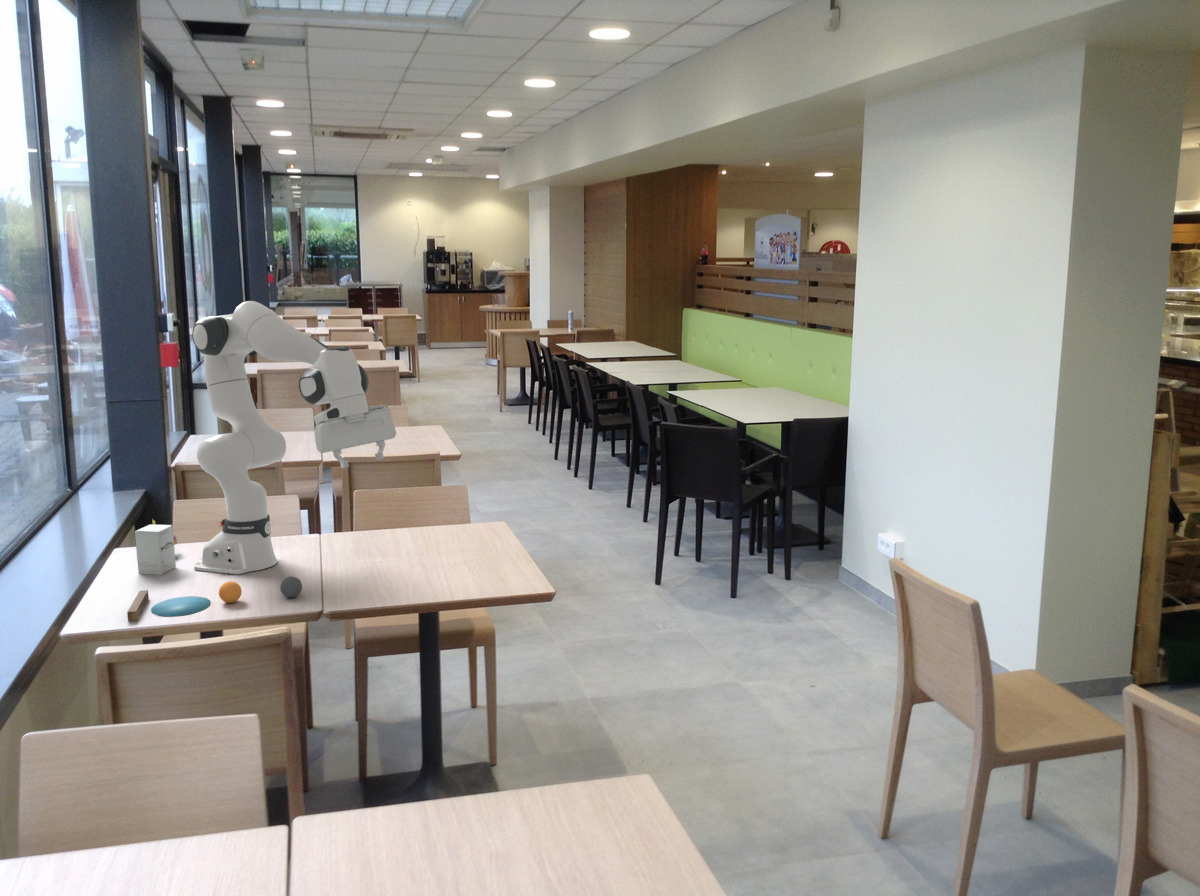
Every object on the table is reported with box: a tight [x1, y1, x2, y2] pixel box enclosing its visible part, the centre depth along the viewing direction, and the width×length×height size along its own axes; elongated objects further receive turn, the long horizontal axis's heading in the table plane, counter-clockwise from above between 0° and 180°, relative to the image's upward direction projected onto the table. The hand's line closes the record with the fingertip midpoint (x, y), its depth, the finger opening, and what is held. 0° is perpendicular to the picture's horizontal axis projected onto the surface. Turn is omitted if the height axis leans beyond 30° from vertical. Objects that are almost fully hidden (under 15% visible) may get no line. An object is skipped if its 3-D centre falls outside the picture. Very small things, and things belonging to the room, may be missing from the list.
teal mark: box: [150, 595, 211, 617], centre depth 253 cm, size 14×14×1 cm
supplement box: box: [134, 524, 177, 576], centre depth 280 cm, size 7×7×13 cm
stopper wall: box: [126, 589, 150, 622], centre depth 250 cm, size 2×16×2 cm, turn 14°
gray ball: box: [279, 576, 303, 599], centre depth 259 cm, size 6×6×6 cm
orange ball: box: [218, 580, 243, 604], centre depth 255 cm, size 6×6×6 cm
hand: (362, 463), depth 248 cm, fingers open, 8 cm apart
